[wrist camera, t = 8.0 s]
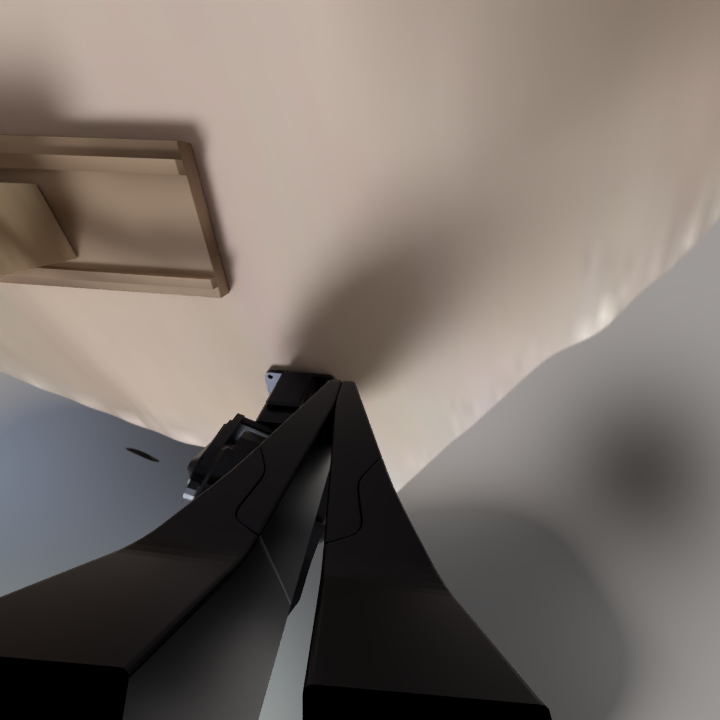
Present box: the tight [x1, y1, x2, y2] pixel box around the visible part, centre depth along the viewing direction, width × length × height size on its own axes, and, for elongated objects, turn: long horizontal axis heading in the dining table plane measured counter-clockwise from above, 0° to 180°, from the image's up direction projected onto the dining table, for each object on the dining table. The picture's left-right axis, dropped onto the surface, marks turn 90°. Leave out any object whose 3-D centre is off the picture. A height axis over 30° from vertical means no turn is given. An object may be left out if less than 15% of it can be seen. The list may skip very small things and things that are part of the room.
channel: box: [0, 135, 229, 298], centre depth 17 cm, size 9×22×2 cm, turn 88°
